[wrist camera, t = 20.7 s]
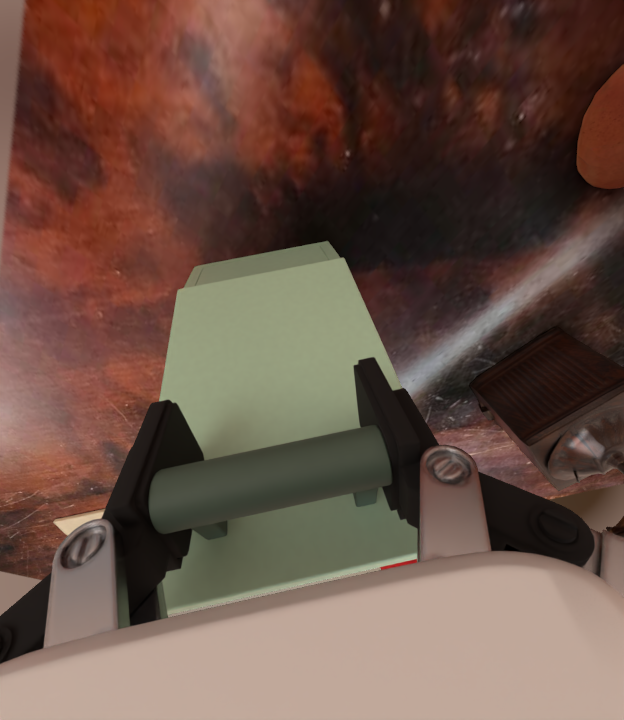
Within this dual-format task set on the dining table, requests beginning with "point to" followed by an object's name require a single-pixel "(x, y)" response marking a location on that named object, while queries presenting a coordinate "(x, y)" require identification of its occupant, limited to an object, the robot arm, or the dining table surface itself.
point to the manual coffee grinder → (559, 408)
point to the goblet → (604, 136)
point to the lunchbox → (261, 263)
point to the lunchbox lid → (275, 438)
